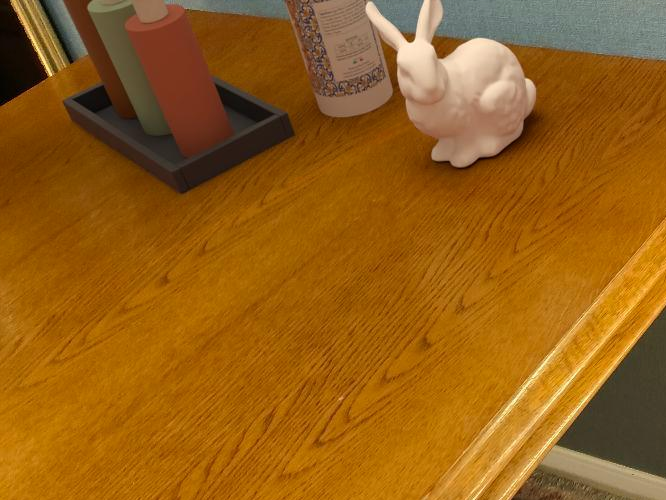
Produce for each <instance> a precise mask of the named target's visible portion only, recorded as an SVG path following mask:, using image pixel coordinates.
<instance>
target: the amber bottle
mask: <svg viewBox="0 0 666 500" xmlns="http://www.w3.org/2000/svg"><path fill="white" fill-rule="evenodd" d="M91 1H92V0H62V2H63V4H64V6H65V8H66V10H67V12H68V14H69V17H70V18H71V20H72V23H73V25H74V27H75V29H76V31H77V33H78V36H79V37H80V39H81V42H82V44H83V46H84V47H85V50H86V52H87V54H88V56H89V59H90V60H91V63H92V64H93V67H94V69H95V70H96V73H97V75H98V77H99V79H100V82H102V83H103V85H104V87H105V89H106V91H107V93H108V95H109V98H110V100H111V102H112V104H113V106H114V108H115V110H116V112H117V114H118V116H120V117H121V118H125V119H135V118H138V116H137V114H136V112H135V110H134V107H133V105H132V103H131V101H130V99H129V97H128V95H127V92H126V90H125V88H124V86H123V84H122V82H121V80H120V77H119V75H118V73H117V71H116V69H115V67H114V65H113V62H112V60H111V58H110V56H109V54H108V52H107V50H106V47H105V45H104V43H103V41H102V39H101V37H100V35H99V32H98V30H97V28H96V26H95V24H94V22H93V20H92V17H91V15H90V13H89V11H88V8H87V7H88V5H89V3H90V2H91Z"/></svg>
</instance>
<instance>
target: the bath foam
mask: <svg viewBox="0 0 666 500" xmlns="http://www.w3.org/2000/svg"><path fill="white" fill-rule="evenodd" d="M283 2H284V4H285V7H286V10H287V14H288V17H289V20H290V23H291V26H292V29H293V32H294V37H295V39H296V41H297V45H298V48H299V51H300V54H301V57H302V60H303V63H304V67H305V70H306V72H307V75H308V79H309V83H310V85H311V89H312V91H313V94H314V97H315V100H316V103H317V107H318V109H319V111H320V112H321V113H322V114H324V116H325V115H326V116H327V117H328V116H329V117H332V118H349V117H354V116H355V117H356V116H360V115H364V114H367V113H369V112H371V111H374V110H377V109H379V108H380V107H381V106H383V105H385V104H386V103H387V102H388V101H389V100H390V99H391V97H392V96H393V92H394V89H393V85H392V81H391V77H390V74H389V70H388V65H387V62H386V57H385V54H384V51H383V47H382V43H381V39H380V38H381V37H380V34H379V32H378V29H377V28H376V27H375V25H374V24H373V23H372V22H371V20H370V19H369V17H368V16H367V14H366V11H365V10H366V5H367V3H368V2H371V1H370V0H283Z"/></svg>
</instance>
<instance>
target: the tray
mask: <svg viewBox="0 0 666 500" xmlns="http://www.w3.org/2000/svg"><path fill="white" fill-rule="evenodd" d="M211 77H212V79H213V82H214V84H215V87H216V89H217V92H218V94H219V97H220V99H221V102H222V104H223V107H224V109H225V112H226V114H227V117H228V119H229V122H230V124H231V127H232V129H233V132H234V136H232V137H230V138H228V139H226V140H224V141H222V142H220V143H218V144H216V145H214V146H212V147H210V148H208V149H206V150H204V151H203V152H201V153H199V154H197V155H195V156H193V157H191V158H189V159H188V158H186V157H184V156H183V155H182V154H181V152H180V150H179V148H178V145H177V143H176V141H175V139H174V136H173V134H169V135H163V136H152V135H148V134H147V133H146V132H145V131H144V129H143V127H142V125H141V122H140V120H139V118H135V119H125V118H121V117H120V116H118V114H117V112H116V110H115V108H114V106H113V104H112V102H111V100H110V98H109V95H108V93H107V91H106V89H105V87H104V85H103V83H102V81H100V82H98V83H96V84H94V85H92V86H90V87H87V88H85V89H83V90H81V91H79V92H77V93H75V94H72V95H69V96H68V97H66V98H63V99H62V100H61V102H62V105H63V106H64V108H65V110H66V112H67V114H68V116H69V118H70V120H71V121H72V123H74V124H76V125H77V126H79V127H81V128H82V129H83V130H85V131H87V132H88V133H89V134H91V135H92V136H94V137H95V138H97V139H98V140H100V141H101V142H103V143H104V144H105V145H107V146H109V147H110V148H112V149H113V150H115V151H116V152H118V153H119V154H121V155H122V156H123V157H125V158H126V159H128V160H130V161H131V162H132V163H134V164H135V165H137V166H138V167H140V168H142V169H143V170H144V171H146V172H147V173H149V174H150V175H152V176H153V177H155V178H156V179H158V180H159V181H161V182H162V183H164V184H166V185H167V186H168V187H170V188H171V189H173V190H175V191H176V192H177V193H179V194H180V195H184V194H185V193H187V192H189V191H191V190H192V189H195V188H197V187H199V186H201V185H202V184H204V183H206V182H208V181H210V180H212V179H214V178H216V177H218V176H220V175H221V174H223V173H226V172H227V171H229V170H232V169H233V168H235V167H237V166H239V165H241V164H242V163H244V162H247V161H248V160H250V159H252V158H254V157H256V156H258V155H260V154H262V153H263V152H265V151H267V150H269V149H271V148H273V147H275V146H277V145H278V144H281V143H283V142H285V141H287V140H288V139H290V138H292V137H294V136H295V135H296V134H295V131H294V128H293V126H292V122H291V119H290V117H289V114H288V112H287V111H285V110H283V109H281V108H279V107H277V106H275V105H273V104H271V103H269V102H267V101H265V100H263V99H261V98H260V97H257V96H255V95H253V94H251V93H249V92H247V91H245V90H243V89H241V88H240V87H237V86H235V85H234V84H231V83H229V82H227V81H225V80H224V79H221V78H219V77H218V76H215V75H213V74H211Z"/></svg>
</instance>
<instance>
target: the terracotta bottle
mask: <svg viewBox="0 0 666 500" xmlns="http://www.w3.org/2000/svg"><path fill="white" fill-rule="evenodd" d="M131 2H132V4H133V6H134V9H135V11H136V13H137V14H135V15H133V16H132V17H131V18H129V19H128V20H127V21H126V23H125V29H126V31H127V33H128V35H129V38H130V40H131V42H132V44H133V47H134V49H135V51H136V53H137V56H138V58H139V60H140V62H141V65H142V67H143V69H144V71H145V74H146V76H147V78H148V80H149V83H150V85H151V87H152V89H153V92H154V94H155V96H156V98H157V101H158V103H159V105H160V107H161V109H162V112H163V114H164V116H165V118H166V121H167V123H168V125H169V127H170V130H171V132H172V134H173V136H174V139H175V141H176V143H177V145H178V148H179V150H180V152H181V154H182V155H183V156H184V157H186V158H188V159H189V158H191V157H193V156H195V155H197V154H199V153H201V152H203V151H204V150H206V149H208V148H210V147H212V146H214V145H216V144H218V143H220V142H222V141H224V140H226V139H228V138H230V137H232V136H234V132H233V129H232V127H231V124H230V122H229V119H228V117H227V114H226V112H225V109H224V107H223V104H222V102H221V99H220V97H219V94H218V92H217V89H216V87H215V84H214V82H213V79H212V77H211V75H212V74H211V71H210V69H209V66H208V64H207V62H206V59H205V57H204V56H205V55H204V54H203V52H202V49H201V46H200V44H199V42H198V39H197V36H196V34H195V32H194V29H193V27H192V24H191V22H190V19H189V17H188V13H187V11H186V9H185V7H184V6H182V5H180V4H175V3H168V4H167V3H166V1H165V0H131Z"/></svg>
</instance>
